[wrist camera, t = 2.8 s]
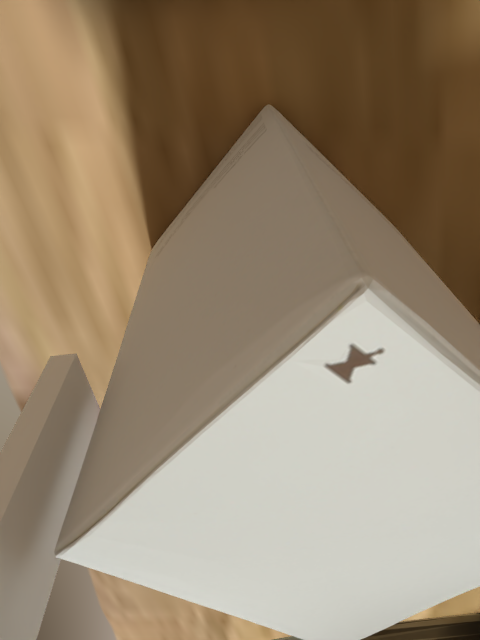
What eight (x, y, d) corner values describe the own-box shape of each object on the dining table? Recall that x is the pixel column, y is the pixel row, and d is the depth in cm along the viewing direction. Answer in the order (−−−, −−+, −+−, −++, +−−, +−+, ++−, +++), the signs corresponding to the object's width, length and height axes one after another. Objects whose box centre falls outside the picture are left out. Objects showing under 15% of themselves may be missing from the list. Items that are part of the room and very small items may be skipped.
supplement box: (144, 251, 21) (28, 562, 9) (267, 97, 17) (372, 256, 5) (276, 344, 25) (329, 663, 12) (402, 232, 21) (662, 523, 9)
